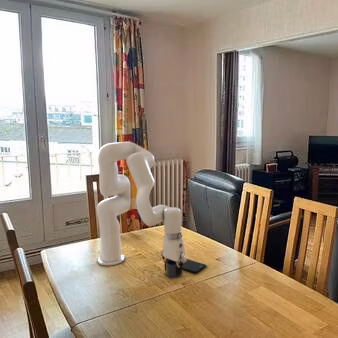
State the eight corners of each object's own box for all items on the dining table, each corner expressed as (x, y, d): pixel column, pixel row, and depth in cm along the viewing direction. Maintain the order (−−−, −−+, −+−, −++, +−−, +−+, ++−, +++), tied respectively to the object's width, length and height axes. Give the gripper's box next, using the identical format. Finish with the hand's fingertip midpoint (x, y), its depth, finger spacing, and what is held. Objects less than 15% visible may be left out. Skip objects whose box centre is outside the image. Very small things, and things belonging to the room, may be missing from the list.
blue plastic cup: (163, 274, 149) (162, 262, 149) (173, 269, 155) (173, 257, 154) (173, 279, 146) (173, 266, 145) (183, 273, 151) (183, 261, 150)
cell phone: (177, 257, 167) (177, 256, 167) (206, 266, 158) (206, 264, 158) (166, 264, 160) (166, 262, 160) (195, 273, 151) (195, 271, 150)
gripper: (192, 236, 145) (193, 274, 148) (165, 228, 155) (165, 264, 158) (181, 241, 139) (181, 281, 142) (153, 233, 149) (154, 270, 152)
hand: (173, 271), depth 150 cm, fingers closed on blue plastic cup, 6 cm apart
